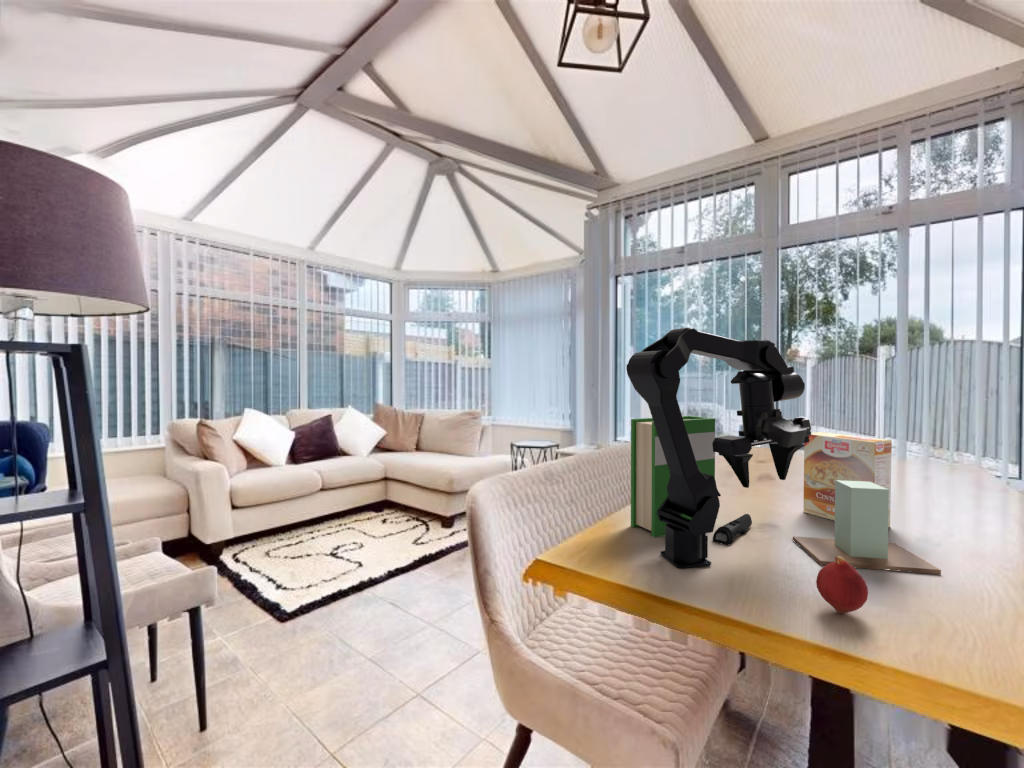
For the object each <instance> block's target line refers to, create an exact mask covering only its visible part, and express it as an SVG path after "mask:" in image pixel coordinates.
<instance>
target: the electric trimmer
mask: <svg viewBox="0 0 1024 768" xmlns="http://www.w3.org/2000/svg"><path fill="white" fill-rule="evenodd" d="M752 524H753V520H752V517H751V514H748V513H744V514H743V515H741V516H738V518H736V519H733V520H731V521H729V522H727V523H726V524H724V525H721V526H719V527H718V528H717V529H716V530H714V533H713V536H712V541H713V542H714V543H717V542H718V543H717V544H720V543H722V544H721V545H724V544H725V546H729V545H728V544H731V545H732V544H733V541H734V538H736V537H737V536H738V535H743V534H744V535H745V534H746V533H747V532H748V530H749V529H750V527H751V526H752Z"/></svg>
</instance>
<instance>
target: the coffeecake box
mask: <svg viewBox="0 0 1024 768" xmlns="http://www.w3.org/2000/svg"><path fill="white" fill-rule="evenodd" d="M803 444H804V447H803V448H804V449H803V451H804V452H803V511H802V512H803V513H806V514H809V515H813V516H817V517H820V518H824V519H828V520H831V521H834V522H835V480H843V481H866V482H872V483H874V484H877V485H879V486H882V487H884V488H886V489H889V511H888V528H890V527H891V507H892V506H891V503H892V502H891V501H892V499H891V498H892V496H891V494H892V491H891V490H892V444H893V443H892V439H887V438H885V439H884V438H876V437H875V438H874V437H867V436H859V435H853V434H852V435H851V434H843V433H833V432H824V431H818V432H811V435H810V436H809V442H807V443H803Z"/></svg>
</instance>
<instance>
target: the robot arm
mask: <svg viewBox="0 0 1024 768" xmlns="http://www.w3.org/2000/svg"><path fill="white" fill-rule="evenodd" d="M691 354H692V355H698V356H703V357H708V358H712V359H715V360H720V361H723V362H725V363H726V364H727V366H729V367H731V368H733V369H735V370H738V371H737V373H736V375H734V377H732V379H731V380H730V383H731V384H732V385H739V386H738V387H739V399H740V409H739V410H736V416H738V417H741V419H742V420H741V421H742V422H741V423H742V430H738V436H737V435H730V434H728V435H724V436H717V437H716V436H715V439H714V440H713V442H712V445H713V452H715V453H718V455H719V456H722V457H723V458H724V459H725V461H726V462H727V464H728V465H729V466H730V467H731V469H732V470H733V472H734V474H735V476H736V478H737V479H738V481H739V482H740V484H741V485H742V487H743V488H746V489H748V488H749V487H750V469H749V467H750V466H749V465H750V464H749V462H750V460H751V459H752V457H753V456H754V454H752V453H750V452H751V451H752V449H753V448H752V447H756V446H764V445H769V446H768V447H769V449H770V453H771V457H772V459H773V464H774V467H775V471H776V474H777V476H778V479H779V480H781V481H786V479H787V475H788V473H789V469H790V465H791V464H792V463H791V462H792V461H793V457H794V454H795V453H796V452H798V451H799V450H800V449H801V448H802V449H803V448H804V443H807V442H809V436H810V435H811V433H812V432H811V430H812V426H811V422H810V419H809V418H807V417H806V416H799V417H798V416H797V417H795V418H793V419H791V418H789V419H786V418H784V417H783V415H782V414H783V413H782V411H781V409H780V408H775V403H776V402H777V403H778V402H784V401H788V400H789V401H790V400H794V399H795V400H796V399H798V398H800V397H801V396H802V395H803V393H804V392H805V390H806V389H805V387H806V385H805V381H804V380H803V378H802V376H801V375H799V374H798V373H797V372H795V371H794V370H795V368H794V366H792V365H791V366H789V365H788V364H787V362H785V359H784V358H783V356H782V355H781V353H780V351H779V350H778V348H777V347H776V344H775V343H774V341H771V340H770V339H752V340H750V339H749V340H738V339H735V338H731V337H726V336H721V335H716V334H713V333H708V332H704V331H701V330H697V329H695V328H693V327H681V328H674V329H671V330H670V331H668V332H667V333H666V334H664V336H662V337H661V338H660V339H658V340H656V341H655V342H653V343H651V344H649V345H648V346H646V347H645V348H643V349H642V350H641V351H639V352H635V353H634V354H632V355H631V356H630V358H629V360H628V363H627V364H626V374H627V377H628V379H629V381H630V383H631V385H632V386H633V388H634V390H635V391H636V392H637V394H639V396H640V397H641V398H642V399H643V400H644V401H645V402H646V404H647V406H648V409H649V412H650V414H651V418H653V421H654V424H655V428H656V431H657V434H658V437H659V440H660V443H661V446H662V449H663V453H664V456H665V459H666V462H667V465H668V468H669V471H670V478H669V481H668V484H667V492H668V497H667V498H666V499H665V501H664V502H663V503H662V505H661V506H660V507H659V509H658V510H657V514H658V518H659V521H661V522H665V523H667V524H665V535H664V550H662V551H660V555H661V556H662V557H664V558H665V559H666V560H667V561H669V562H670V563H671V564H672V565H673V566H675V567H676V568H678V569H685V568H687V569H689V568H697V567H698V568H700V567H710V566H712V562H711V561H710V560H709V559H707V558H708V555H709V551H708V549H709V548H708V546H709V545H708V543H709V542H708V541H709V537H708V535H707V534H711V533H713V532H714V531H715V526H716V522H717V518H718V515H719V511H720V506H721V504H720V498H719V497H721V496H722V495H721V493H720V492H719V490H718V486H717V482H716V477H715V478H714V476H713V475H709V474H705V473H701V471H700V470H699V468H698V466H697V462H696V459H695V456H694V453H693V449H692V446H691V443H690V440H689V437H688V433H687V430H686V427H685V424H684V420H683V417H682V416H683V415H682V411H681V409H680V405H679V404H680V403H679V401H678V399H677V394H678V391H679V387H680V384H681V377H680V370H681V369H682V368H683V367H685V366H686V365H687V364H688V362H689V359H690V356H691ZM681 514H684V515H687V516H690V517H692V519H691V520H690V519H688V518H685V517H683V516H681Z"/></svg>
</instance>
